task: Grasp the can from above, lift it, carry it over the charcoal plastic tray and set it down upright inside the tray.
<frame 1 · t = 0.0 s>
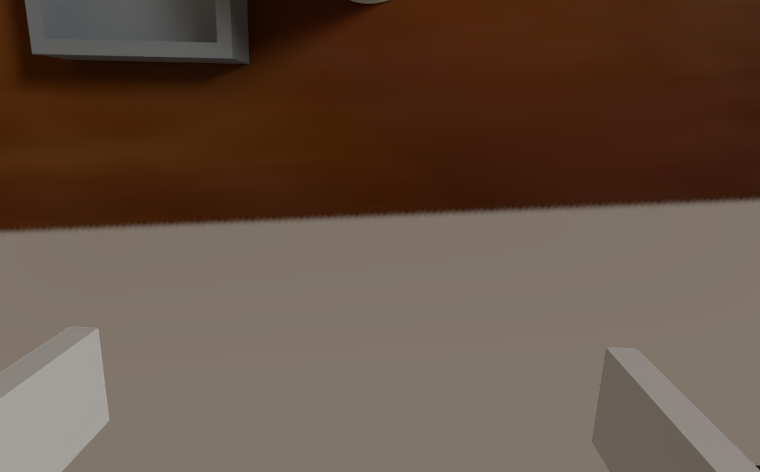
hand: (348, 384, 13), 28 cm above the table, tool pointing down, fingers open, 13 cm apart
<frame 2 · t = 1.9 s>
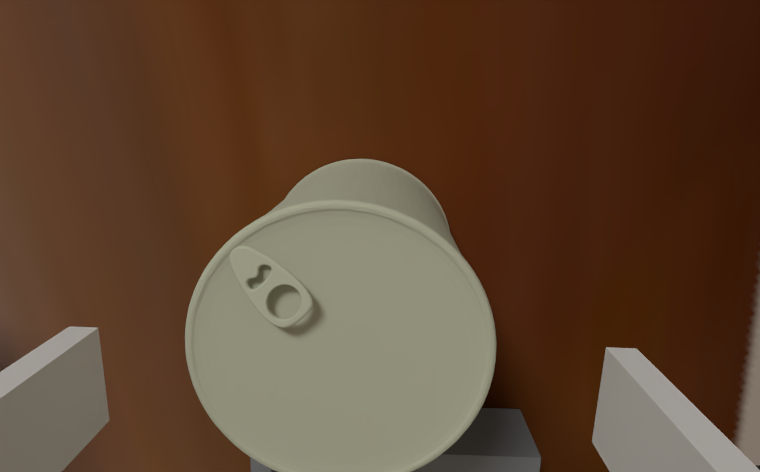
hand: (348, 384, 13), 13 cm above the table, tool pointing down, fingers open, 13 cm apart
can: (361, 247, 26), on the table
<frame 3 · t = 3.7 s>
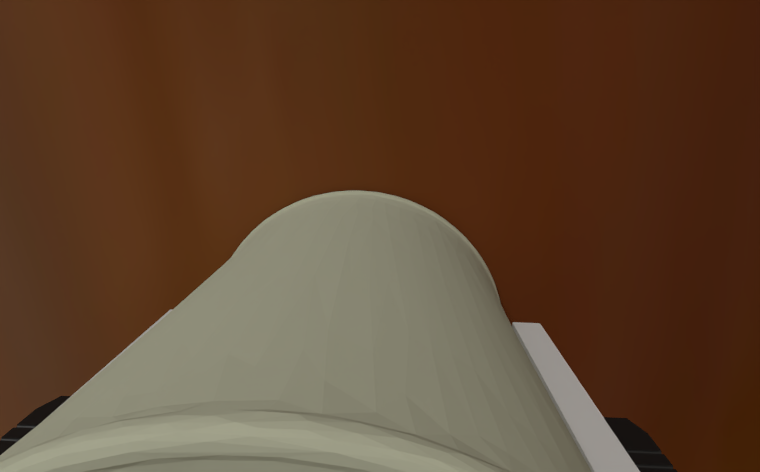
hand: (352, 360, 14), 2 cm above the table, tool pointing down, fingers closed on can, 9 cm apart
can: (358, 328, 16), on the table, touching gripper
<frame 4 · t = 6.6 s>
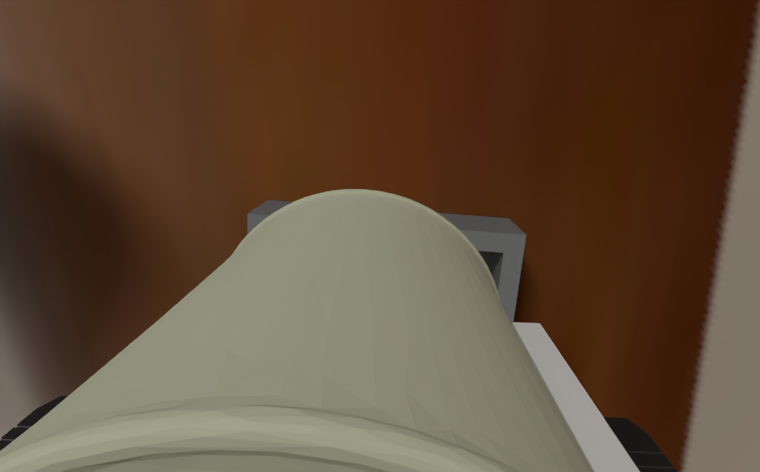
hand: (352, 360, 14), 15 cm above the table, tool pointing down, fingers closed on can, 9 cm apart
tray: (379, 320, 30), on the table
can: (358, 327, 16), point 13 cm above the table, touching gripper
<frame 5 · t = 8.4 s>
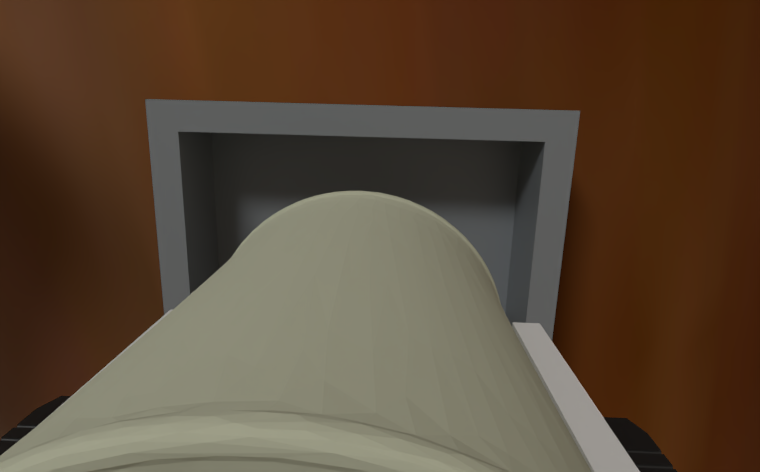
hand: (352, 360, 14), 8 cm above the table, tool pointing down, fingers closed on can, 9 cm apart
tray: (364, 272, 22), on the table
can: (358, 328, 16), point 6 cm above the table, touching gripper
when the fingers open (5 cm above the table, at t = 9.8 s): can drops 2 cm, resting on tray.
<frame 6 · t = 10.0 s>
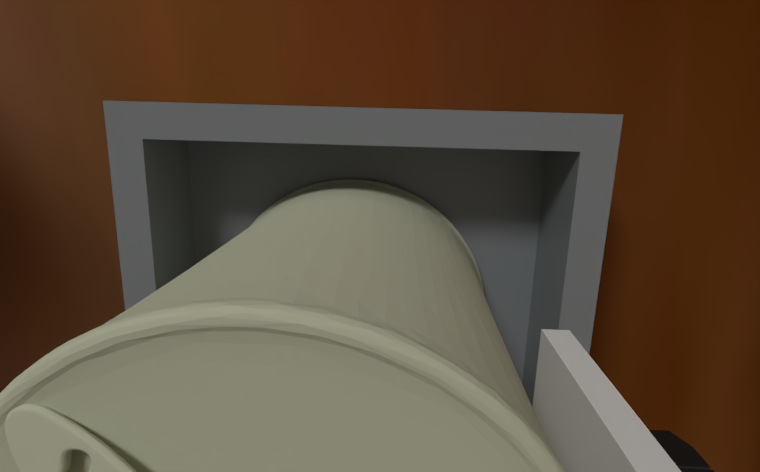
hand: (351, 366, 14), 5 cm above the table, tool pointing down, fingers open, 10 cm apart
tray: (364, 298, 19), on the table
can: (354, 304, 18), point 1 cm above the table, touching gripper, tray
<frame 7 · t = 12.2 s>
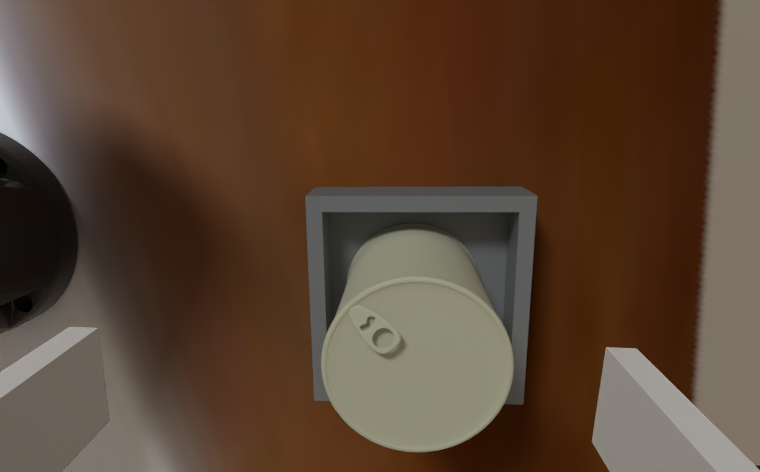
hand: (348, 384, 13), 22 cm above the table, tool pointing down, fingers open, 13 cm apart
tray: (417, 283, 35), on the table
can: (412, 286, 35), point 1 cm above the table, touching tray
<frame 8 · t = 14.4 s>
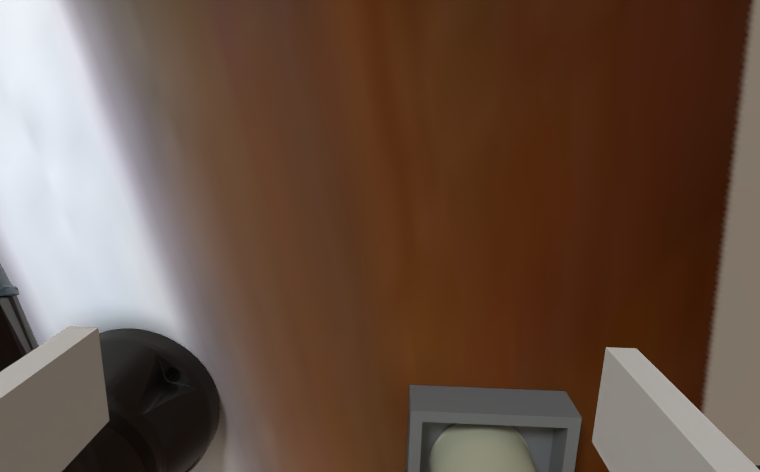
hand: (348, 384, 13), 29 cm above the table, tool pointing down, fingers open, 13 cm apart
tray: (481, 455, 46), on the table
can: (479, 459, 45), point 1 cm above the table, touching tray
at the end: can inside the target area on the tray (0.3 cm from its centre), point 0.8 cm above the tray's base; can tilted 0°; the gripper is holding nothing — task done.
